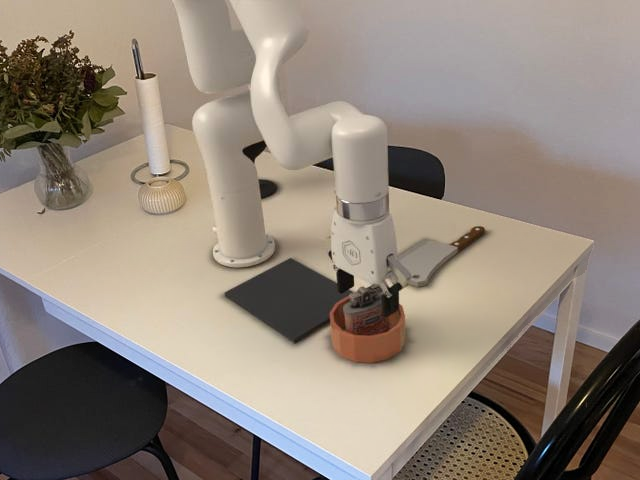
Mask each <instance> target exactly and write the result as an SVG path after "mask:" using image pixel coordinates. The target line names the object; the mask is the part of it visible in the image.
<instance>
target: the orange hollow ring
mask: <svg viewBox="0 0 640 480" xmlns="http://www.w3.org/2000/svg"><path fill="white" fill-rule="evenodd" d="M349 302H350V296H348V297H346V298H344V299H342V300H341V301H339V302H337V303H336V304H335V305H334V307H333V308H332V310H331V312H330V323H329V324H330V337H331V344H332V345H331V346H332V349H334V350H335V351H336V352H337V354H338V355H340V357H342V358H344V359H347V360H349V361H352V362H354V363H365V364H366V363H367V364H375V363H378V362H382V361H385V360H390V359H391V358H392V357H394V356H395V355H397V354H398V353H400V352H401V351H402V349H403V347H404V344H405V342H406V314H405V310H404V307H403V305H402V304H401V303H399V310H398V311H396V312H395V313H393V314H392V315H390V316H389V325H392V326H393V327H392V328H390V330H389V331H387V332H384V333H380V334H376V335H372V336H367V335H354V334H351V333H349V332H346V330H344V329H342V328H343V327H346V326H345V314H344V312H343V306H344V305H345V304H347V303H349Z"/></svg>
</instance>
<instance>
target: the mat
mask: <svg viewBox="0 0 640 480" xmlns="http://www.w3.org/2000/svg"><path fill="white" fill-rule="evenodd" d="M351 293H354V291H352V290H351V289H349V290H347V291H346V292H344V293H342V294H341V293H339V292H338V289H337V281H334V280H332V279H330V278H328V277H326V276H325V275H323V274H321V273H319V272H317V271H315V270H314V269H312V268H311V267H308V266H306V265H305V264H302V263H301V262H299V261H297V260H295V259H294V258H292V257H289V258H287V259H286V260H284V261H282V262H280V263H278V264H276V265H273V266H272V267H270V268H269V269H267V270H264V271H262V272H261V273H259V274H257V275H254V276H253V277H251V278H249V279H247V280H246V281H243V282H242V283H240V284H238V285H236V286H234V287H232V288H230V289H229V290H226V291H224V297H225V298H227V299H229V300H230V301H231V302H233V303H235V304H236V305H238V306H239V307H240V308H242V309H244V310H245V311H246V312H248V313H250V314H251V316H254V317H255V318H257V319H258V320H260V321H261V322H263V323H264V324H266V325H267V326H268V327H270V328H272V330H274V331H276V332H277V333H279V334H280V335H282V336H283V337H285V338H286V339H288V340H289V341H291V342H292V343H294V344H296V343H298V342H299V341H301V340H302V339H303V338H305V337H308V335H310V334H312V333H313V332H315V331H317V330H318V329H320V328H322V327H324V326H325V325H326V324H327V325H328V323H329V322H330V312H331V310H332V308H333V307H334V305H335V304H336V303H337V302H339V301H341V300H342V299H344V298H346V297H348V296H349V295H350V294H351Z"/></svg>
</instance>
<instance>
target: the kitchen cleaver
mask: <svg viewBox="0 0 640 480" xmlns="http://www.w3.org/2000/svg"><path fill="white" fill-rule="evenodd" d="M485 232H486V228H485V227H484V226H482V225H480V226H479V225H477V226H473V227H471V229H470V231H469V232H467V233H464V234H463V235H461V237H460V238H459V239H457V240H455V241H452V242H451V243H444V242H439V241H434V240H429V239H423V240H422V241H420V242H418V243H417V244H415V245H413V246H412V247H411V248H409V249H407V250H406V251H404V252H403V253H401V254H400V255H398V261H399V262H400V263H401V264H402V265H403V266H404V267H405V268H406V269H407V270H408V271H409V272H410V273H411V275H412V278H411V280H410V281H409V283H408V285H411V286H414V287H417V288H419V287H424V286H427V284H428V282H429V281H430V278H431V277H432V276H433V274H435V272H436V271H437V270H438V269H439V268H440V267H441V266H442V265H444V263H446V262H447V261H448V260H449V259H451V258H452V257H453V256H455V255H457V254H458V253H459V252H461V250H463V249H464V248H466V247H467V246H468V245H470V244H471V243H473V242H474V241H475V240H477V239H479V238H480V237H481V236H483V235H484V234H485ZM386 273H387V272H386ZM386 273H385V274H386Z"/></svg>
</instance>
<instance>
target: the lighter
mask: <svg viewBox="0 0 640 480" xmlns="http://www.w3.org/2000/svg"><path fill="white" fill-rule="evenodd" d="M353 292H354V291H353ZM383 294H384V292H383V291H382V289H381V287H380V285H379V284H377V285H373V284H370V285H369V286H367V287H365V286H359V287H358V289H357V290H356V291H355V292H354V293H351V294H350V295H349V296H350V302H349V303H347V304H345V305H344V306H343V312H344V314H345V326H344V327H345V331H346V332H349V333H351V334H354V335H367V336H372V335H376V334H380V333H384V332H387V331H389V330H390V329H391V327H390V323H389V316H388V317H387V318H385V317H383V316H382V303H381V296H382V295H383Z"/></svg>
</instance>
